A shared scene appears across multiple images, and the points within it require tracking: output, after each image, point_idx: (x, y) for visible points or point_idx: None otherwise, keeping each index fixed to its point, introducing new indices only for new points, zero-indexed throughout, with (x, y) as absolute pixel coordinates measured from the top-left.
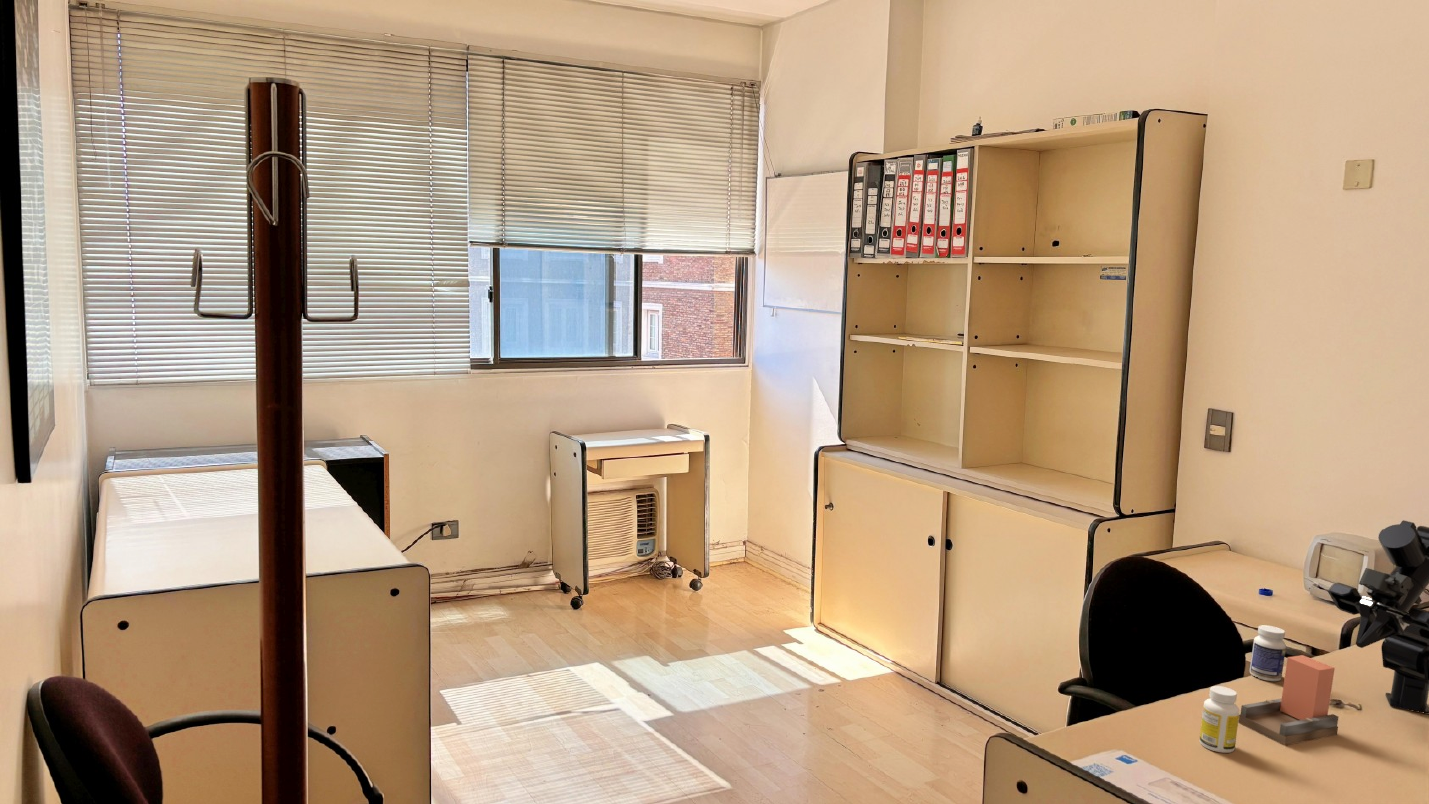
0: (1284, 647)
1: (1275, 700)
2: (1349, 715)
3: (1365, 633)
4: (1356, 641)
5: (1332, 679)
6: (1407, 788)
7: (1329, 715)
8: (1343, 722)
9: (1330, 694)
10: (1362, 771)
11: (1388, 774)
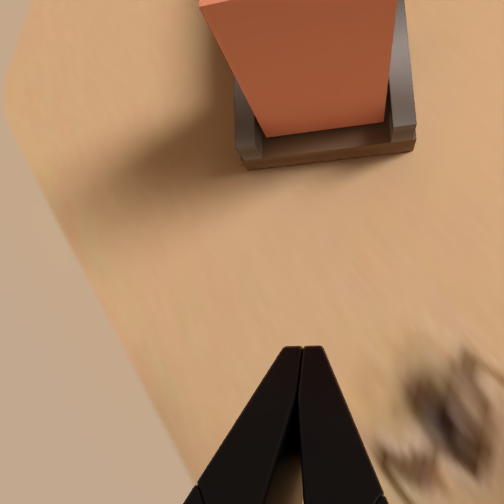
0: None
1: (399, 23)
2: (348, 359)
3: (273, 433)
4: (322, 355)
5: (220, 44)
6: (13, 95)
7: (249, 121)
8: (310, 279)
9: (240, 86)
10: (92, 59)
11: (63, 110)
